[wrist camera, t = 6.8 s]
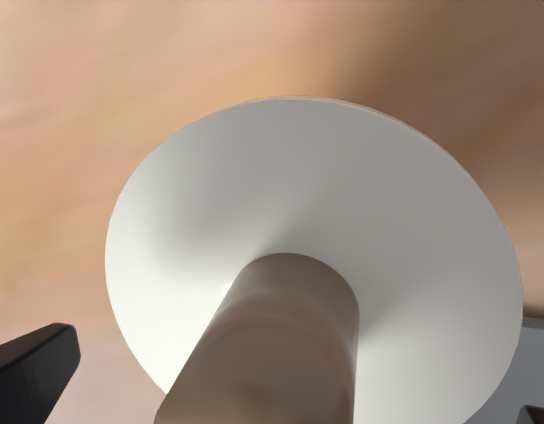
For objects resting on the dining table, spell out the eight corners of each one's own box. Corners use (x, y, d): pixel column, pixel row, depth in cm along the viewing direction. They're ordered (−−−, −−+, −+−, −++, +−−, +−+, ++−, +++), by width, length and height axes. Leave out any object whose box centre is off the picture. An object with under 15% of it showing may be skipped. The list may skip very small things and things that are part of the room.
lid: (468, 469, 12) (520, 715, 8) (142, 404, 14) (36, 568, 10) (565, 105, 8) (780, 182, 4) (97, 87, 10) (-112, 124, 6)
